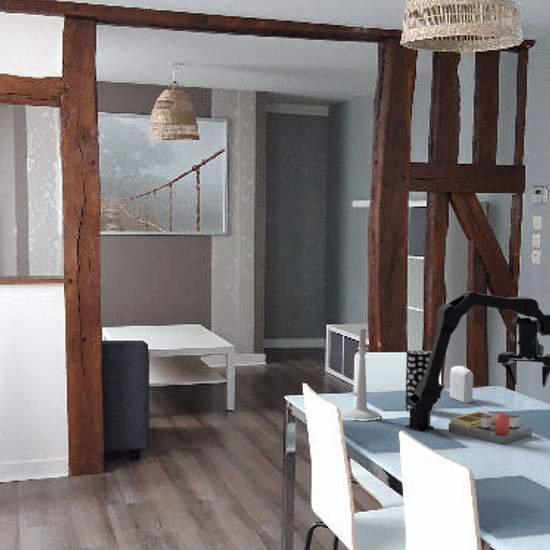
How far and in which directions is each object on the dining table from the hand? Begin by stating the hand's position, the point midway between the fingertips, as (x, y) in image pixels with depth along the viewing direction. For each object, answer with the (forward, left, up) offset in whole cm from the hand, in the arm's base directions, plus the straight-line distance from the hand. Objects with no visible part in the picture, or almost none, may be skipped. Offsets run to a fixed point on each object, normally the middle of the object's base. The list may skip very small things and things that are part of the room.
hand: (529, 385), depth 266 cm
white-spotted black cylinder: (-10, +37, -13) cm, 40 cm away
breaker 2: (-14, -3, -10) cm, 18 cm away
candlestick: (-32, +43, -13) cm, 55 cm away
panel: (-18, +2, -13) cm, 22 cm away
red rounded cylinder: (-23, -5, -11) cm, 26 cm away
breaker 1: (-21, +2, -10) cm, 23 cm away
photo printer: (+15, +37, -13) cm, 42 cm away
